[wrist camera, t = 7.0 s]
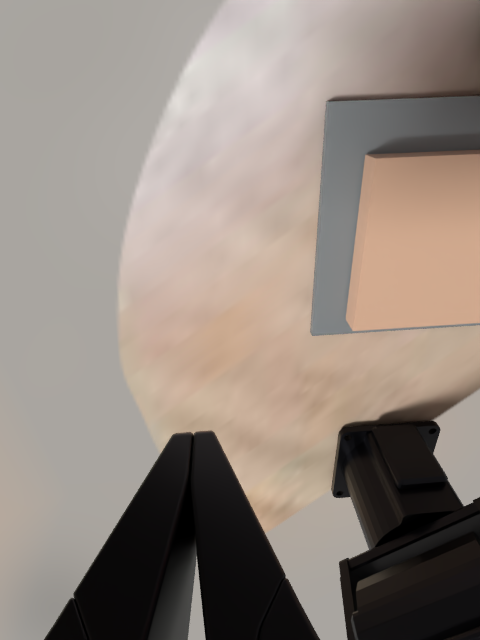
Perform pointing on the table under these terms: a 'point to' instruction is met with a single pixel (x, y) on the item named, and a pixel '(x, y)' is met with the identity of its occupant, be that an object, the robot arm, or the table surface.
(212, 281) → the table surface
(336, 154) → the mat
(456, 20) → the table surface
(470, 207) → the tile
